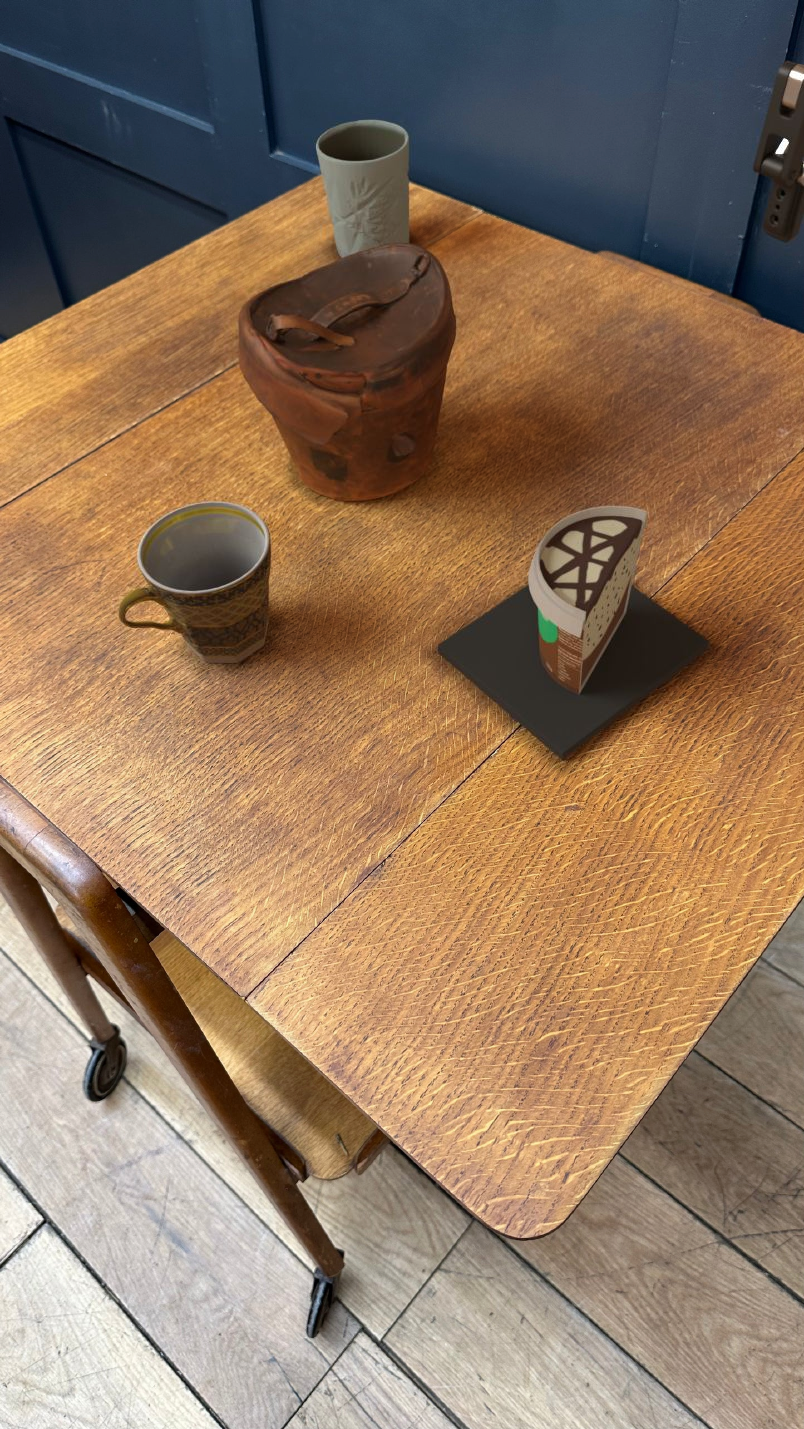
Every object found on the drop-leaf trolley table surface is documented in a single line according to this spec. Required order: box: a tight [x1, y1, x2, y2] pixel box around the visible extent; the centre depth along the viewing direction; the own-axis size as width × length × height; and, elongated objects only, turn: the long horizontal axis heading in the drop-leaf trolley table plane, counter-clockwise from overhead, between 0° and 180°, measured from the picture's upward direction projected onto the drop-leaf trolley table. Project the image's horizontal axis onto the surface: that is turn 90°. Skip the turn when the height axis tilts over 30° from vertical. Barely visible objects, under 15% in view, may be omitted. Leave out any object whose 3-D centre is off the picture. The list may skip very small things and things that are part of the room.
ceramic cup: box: [118, 500, 272, 664], centre depth 80 cm, size 13×10×10 cm
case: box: [237, 242, 457, 502], centre depth 90 cm, size 18×20×18 cm
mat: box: [437, 583, 711, 761], centre depth 81 cm, size 16×14×1 cm
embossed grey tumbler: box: [315, 119, 410, 258], centre depth 116 cm, size 10×10×12 cm
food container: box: [527, 505, 648, 694], centre depth 77 cm, size 12×6×10 cm, turn 151°
